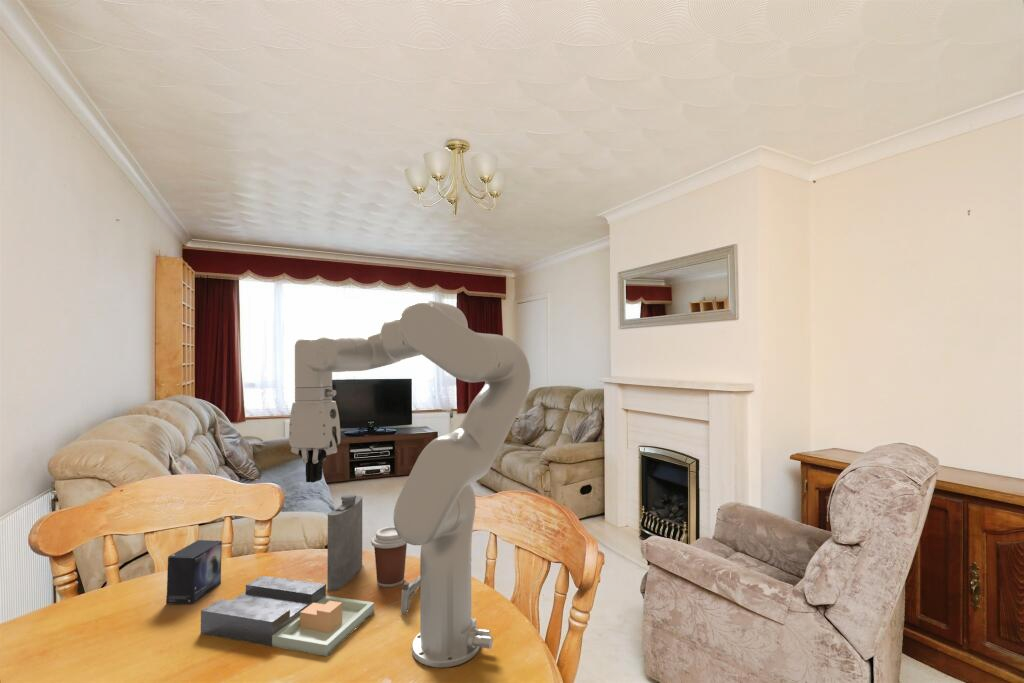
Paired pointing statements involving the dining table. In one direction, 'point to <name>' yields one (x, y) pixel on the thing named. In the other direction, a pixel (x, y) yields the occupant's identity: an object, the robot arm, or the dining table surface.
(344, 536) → the hip flask
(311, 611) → the chip
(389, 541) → the coffee cup
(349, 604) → the tray
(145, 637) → the dining table surface
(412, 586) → the caliper
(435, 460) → the robot arm
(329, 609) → the chip
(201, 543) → the small box
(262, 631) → the slot block
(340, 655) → the dining table surface
